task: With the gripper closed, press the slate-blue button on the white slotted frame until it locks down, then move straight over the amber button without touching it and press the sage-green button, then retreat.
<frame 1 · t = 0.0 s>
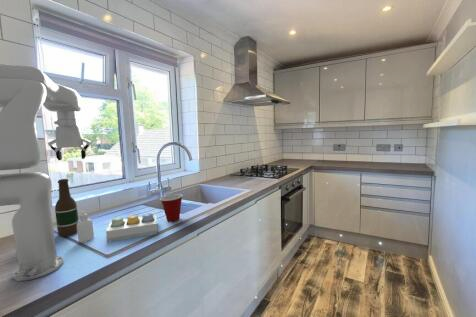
hand: (71, 159, 116), 31 cm above the worktop, tool pointing down, fingers open, 9 cm apart
beer bottle: (69, 233, 105), on the worktop
plastic cup: (172, 220, 117), on the worktop
white slotted frame: (134, 232, 104), on the worktop
button sage: (117, 223, 101), point 5 cm above the worktop, slide at 0.0 cm
button slate: (147, 218, 105), point 5 cm above the worktop, slide at 0.0 cm
eye dropper bottle: (86, 240, 98), on the worktop
button amber: (133, 220, 103), point 5 cm above the worktop, slide at 0.0 cm
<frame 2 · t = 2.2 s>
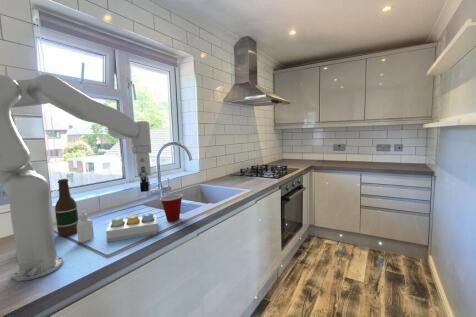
hand: (145, 188, 104), 19 cm above the worktop, tool pointing down, fingers open, 9 cm apart
nothing on the worktop moved.
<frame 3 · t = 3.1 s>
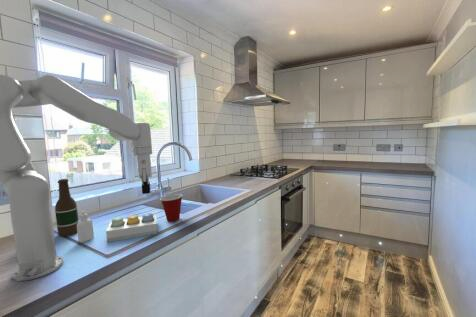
hand: (146, 193, 104), 17 cm above the worktop, tool pointing down, fingers closed
nothing on the worktop moved.
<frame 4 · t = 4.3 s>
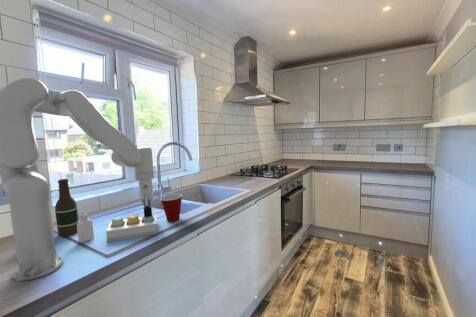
hand: (148, 216, 106), 6 cm above the worktop, tool pointing down, fingers closed
button slate: (148, 220, 106), point 4 cm above the worktop, slide at 0.7 cm, touching gripper
everything else where it was.
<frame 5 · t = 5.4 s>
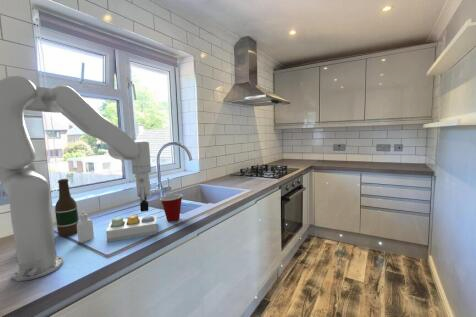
hand: (144, 210, 105), 9 cm above the worktop, tool pointing down, fingers closed
button slate: (148, 221, 106), point 4 cm above the worktop, slide at 1.3 cm
everything else where it was.
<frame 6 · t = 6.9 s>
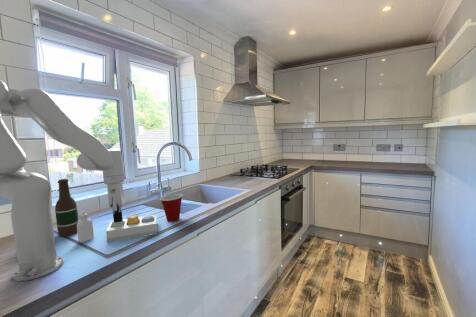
hand: (118, 221, 102), 6 cm above the worktop, tool pointing down, fingers closed
button sage: (117, 225, 102), point 4 cm above the worktop, slide at 1.1 cm, touching gripper
everything else where it was.
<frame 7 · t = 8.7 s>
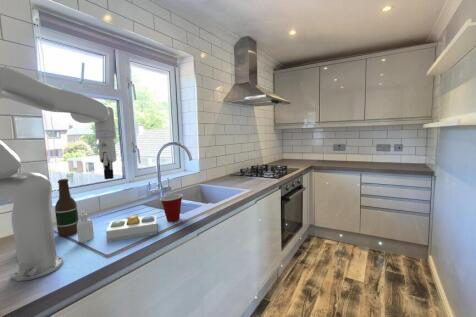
hand: (109, 178, 102), 24 cm above the worktop, tool pointing down, fingers closed
button sage: (118, 226, 102), point 4 cm above the worktop, slide at 1.3 cm
everything else where it was.
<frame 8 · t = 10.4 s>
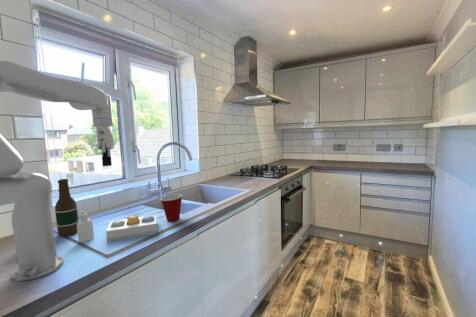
hand: (107, 165, 104), 29 cm above the worktop, tool pointing down, fingers closed
nothing on the worktop moved.
at the end: button slate slide at 1.3 cm; button sage slide at 1.3 cm; button amber slide at 0.0 cm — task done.
